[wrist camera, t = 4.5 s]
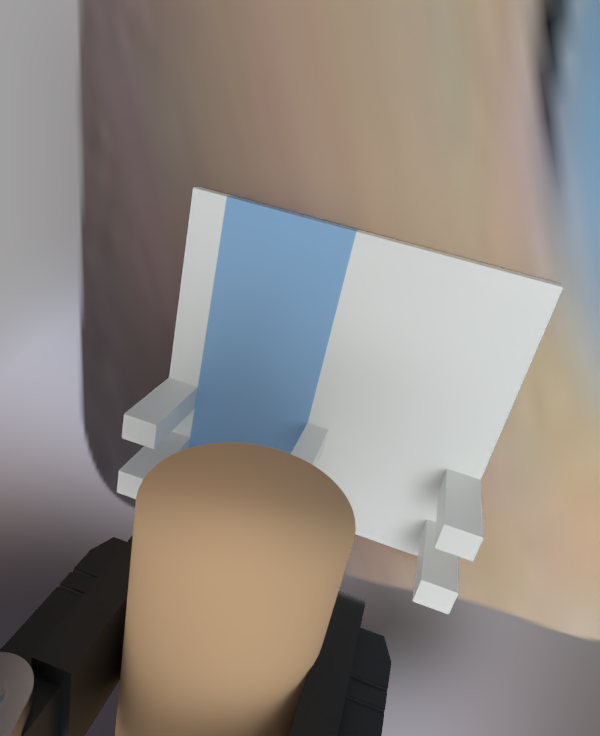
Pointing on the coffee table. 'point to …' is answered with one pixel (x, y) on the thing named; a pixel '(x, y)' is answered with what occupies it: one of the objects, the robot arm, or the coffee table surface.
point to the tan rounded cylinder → (229, 590)
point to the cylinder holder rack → (347, 369)
